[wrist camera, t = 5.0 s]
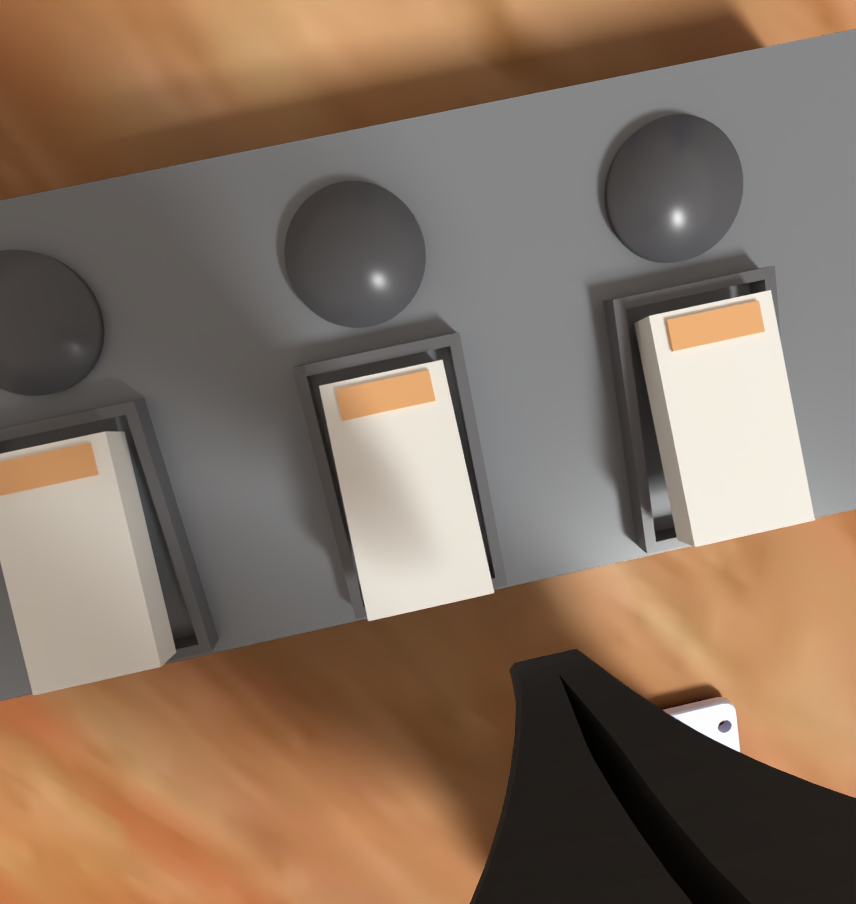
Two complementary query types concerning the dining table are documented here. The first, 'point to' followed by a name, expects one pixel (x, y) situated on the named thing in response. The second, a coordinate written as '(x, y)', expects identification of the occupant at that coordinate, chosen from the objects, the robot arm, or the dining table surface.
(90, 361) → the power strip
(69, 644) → the rocker
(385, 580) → the rocker middle
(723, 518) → the rocker
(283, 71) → the dining table surface
